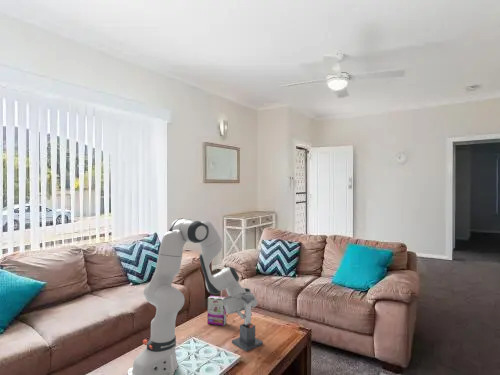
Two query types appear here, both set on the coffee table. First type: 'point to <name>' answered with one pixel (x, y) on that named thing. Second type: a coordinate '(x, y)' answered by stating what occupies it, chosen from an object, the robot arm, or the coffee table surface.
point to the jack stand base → (247, 338)
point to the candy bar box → (216, 311)
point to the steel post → (247, 309)
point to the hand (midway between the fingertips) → (247, 317)
